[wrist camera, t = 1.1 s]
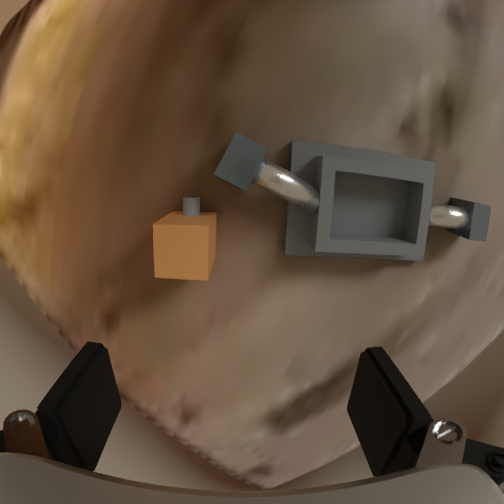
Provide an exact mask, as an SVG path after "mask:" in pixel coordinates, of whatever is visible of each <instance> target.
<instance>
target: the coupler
mask: <svg viewBox="0 0 504 504" xmlns="http://www.w3.org/2000/svg"><path fill="white" fill-rule="evenodd" d="M216 222H217V212H200V197H183V211H172V212H171V213H169V214H168V215H166V216H165V217H163V218H161V219H160V220H158V221H157V222H155V223H154V224H153V247H154V270H155V278H171V279H189V280H208V279H209V276H210V272H211V269H212V266H213V263H214V259H215V256H216Z"/></svg>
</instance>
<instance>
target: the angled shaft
mask: <svg viewBox="0 0 504 504" xmlns="http://www.w3.org/2000/svg"><path fill="white" fill-rule="evenodd" d="M268 150H269V148H267V147H266V146H264V145H262V144H260V143H258V142H256V141H254V140H252V139H250V138H248V137H246V136H244V135H242V134H240V133H238V132H236V134H235V136H234V137H233V139H232V141H231V143H230V145H229V147H228V148H227V150H226V152H225V154H224V156H223V158H222V160H221V162H220V164H219V165H218V167H217V169H216V171H215V173H214V175H215V176H217V177H219V178H221V179H223V180H225V181H227V182H229V183H231V184H233V185H235V186H237V187H239V188H241V189H243V190H245V191H247V189H248V187H249V185H250V183H251V182H252V183H254V184H256V185H258V186H260V187H261V188H263V189H265V190H267V191H269V192H271V193H273V194H275V195H276V196H278V197H280V198H282V199H284V200H286V201H287V202H289V203H291V204H293V205H295V206H297V207H298V208H300V209H302V210H304V211H306V212H307V213H309V214H313V213H314V212H315V211H316V209H317V208H318V206H319V205H320V193H319V189H318V188H317V187H316V186H314V185H312V184H311V183H309V182H307V181H305V180H304V179H302V178H300V177H298V176H297V175H295V174H293V173H291V172H289V171H288V170H286V169H284V168H282V167H280V166H278V165H277V164H275V163H273V162H271V161H269V160H267V159H265V156H266V154H267V152H268Z"/></svg>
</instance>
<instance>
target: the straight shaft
mask: <svg viewBox="0 0 504 504" xmlns="http://www.w3.org/2000/svg"><path fill="white" fill-rule="evenodd" d="M490 211H491V206H488V205H484V204H480V203H475V202H471V201H467V200H462V199H457V198H451V202H450V205H444V204H438V203H431V211H430V218H429V226H436V227H445V228H447V231H449V232H451V233H454V234H456V235H459V236H461V237H464V238H466V239H469V240H478V241H486V237H487V231H488V225H489V218H490Z"/></svg>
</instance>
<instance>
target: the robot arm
mask: <svg viewBox="0 0 504 504" xmlns="http://www.w3.org/2000/svg"><path fill="white" fill-rule="evenodd" d="M37 409H38V410H37V411H36V413H33V412H32V411H29V410H17V411H14V412H12V413H10V414H9V415H8V416H7V417H6V418H5V420H4V423H3V430H1V431H0V504H504V448H501V447H497V446H492V445H489V444H485V443H481V442H477V441H474V440H471V439H467V438H466V437H467V436H466V430H465V428H464V426H463V425H462V424H461V423H460V422H458V421H457V420H454V419H452V418H439V419H436V420H433V419H432V417H431V415H430V414H429V413H428V411H427V409H426V408H425V406H424V405H423V403H422V402H421V401H420V399H419V398H418V396H417V395H416V393H415V392H414V391H413V389H412V388H411V386H410V385H409V384H408V382H407V381H406V379H405V378H404V377H403V375H402V374H401V372H400V371H399V370H398V368H397V367H396V365H395V364H394V363H393V361H392V360H391V359H390V357H389V356H388V355H387V353H386V352H385V350H384V349H383V348H382V347H371V348H366V350H365V352H362V353H361V355H360V359H359V363H358V367H357V371H356V375H355V379H354V383H353V387H352V390H351V394H350V398H349V401H348V405H347V411H348V414H349V417H350V419H351V422H352V424H353V426H354V429H355V431H356V434H357V436H358V439H359V441H360V444H361V446H362V449H363V451H364V454H365V456H366V459H367V461H368V464H369V467H370V469H371V472H372V474H373V476H374V477H373V478H368V479H363V480H357V481H352V482H346V483H340V484H334V485H327V486H320V487H312V488H303V489H291V490H276V491H275V490H274V491H214V490H199V489H187V488H178V487H169V486H162V485H155V484H149V483H143V482H137V481H132V480H127V479H122V478H117V477H113V476H109V475H105V474H101V473H96V472H93V471H94V470H95V468H96V466H97V463H98V461H99V458H100V456H101V454H102V451H103V449H104V446H105V444H106V442H107V439H108V437H109V434H110V432H111V430H112V427H113V425H114V423H115V421H116V418H117V416H118V414H119V412H120V409H121V398H120V395H119V392H118V388H117V384H116V381H115V377H114V373H113V369H112V365H111V361H110V357H109V353H108V350H107V348H105V347H104V346H103V344H101V343H95V342H87V343H86V344H85V345H84V346H83V348H82V349H81V350H80V351H79V353H78V354H77V355H76V356H75V358H74V359H73V360H72V361H71V363H70V364H69V365H68V367H67V368H66V369H65V370H64V372H63V373H62V374H61V376H60V377H59V378H58V380H57V381H56V382H55V384H54V385H53V386H52V388H51V389H50V390H49V392H48V393H47V394H46V396H45V397H44V399H43V400H42V401H41V403H40V404H39V406H38V407H37Z"/></svg>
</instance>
